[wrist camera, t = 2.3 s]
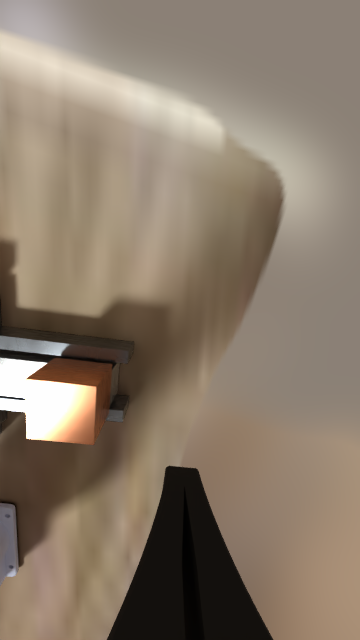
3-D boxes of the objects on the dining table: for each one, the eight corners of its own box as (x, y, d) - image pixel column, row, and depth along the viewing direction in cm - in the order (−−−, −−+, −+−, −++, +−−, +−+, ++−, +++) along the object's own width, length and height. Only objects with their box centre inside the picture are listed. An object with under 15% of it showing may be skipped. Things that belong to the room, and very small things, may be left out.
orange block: (117, 395, 18) (93, 445, 13) (-15, 381, 17) (-95, 426, 12) (120, 352, 17) (96, 386, 12) (-19, 336, 16) (-106, 364, 11)
